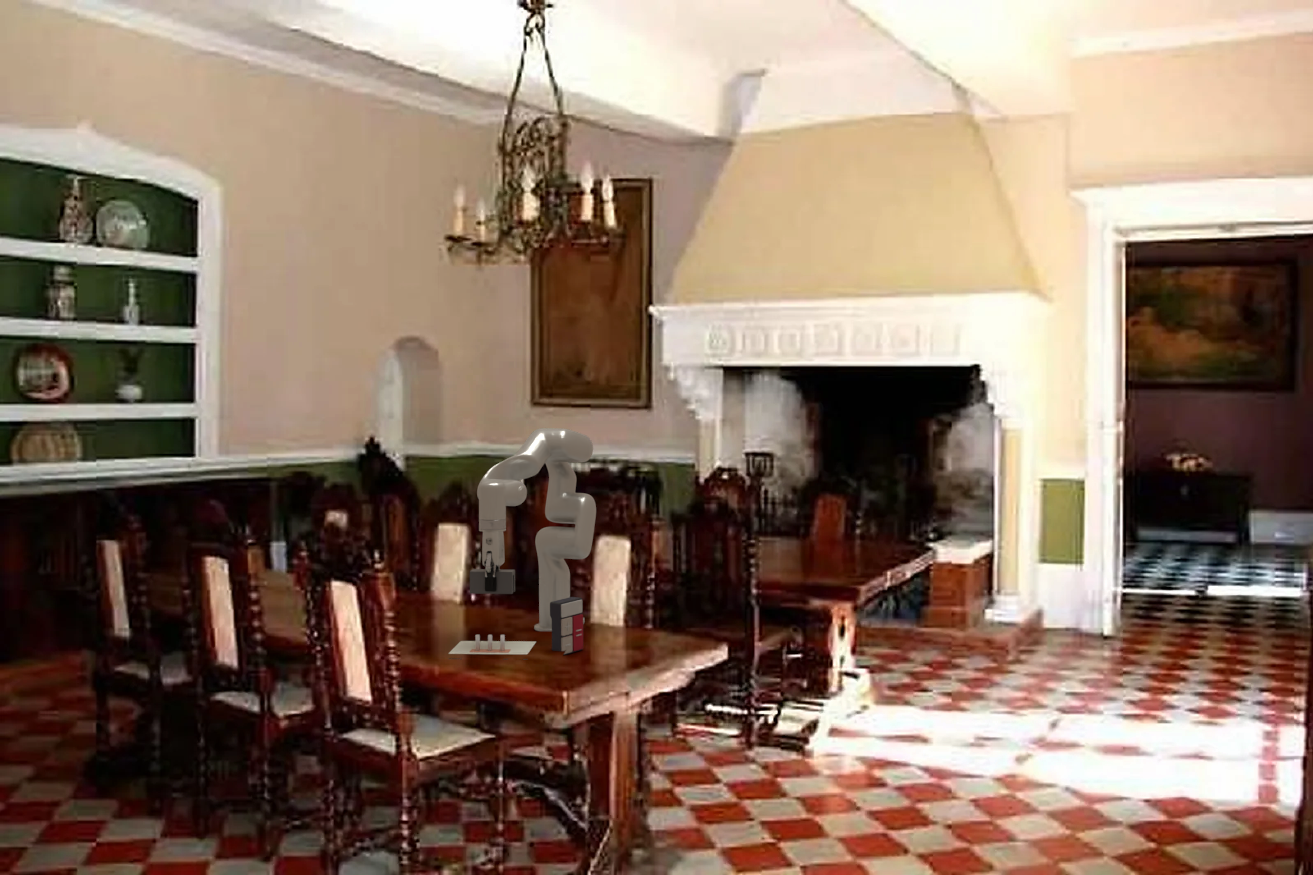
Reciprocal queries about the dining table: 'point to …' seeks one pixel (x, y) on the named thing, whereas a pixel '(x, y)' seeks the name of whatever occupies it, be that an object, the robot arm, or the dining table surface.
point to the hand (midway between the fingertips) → (492, 589)
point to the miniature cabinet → (567, 624)
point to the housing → (503, 581)
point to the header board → (492, 647)
